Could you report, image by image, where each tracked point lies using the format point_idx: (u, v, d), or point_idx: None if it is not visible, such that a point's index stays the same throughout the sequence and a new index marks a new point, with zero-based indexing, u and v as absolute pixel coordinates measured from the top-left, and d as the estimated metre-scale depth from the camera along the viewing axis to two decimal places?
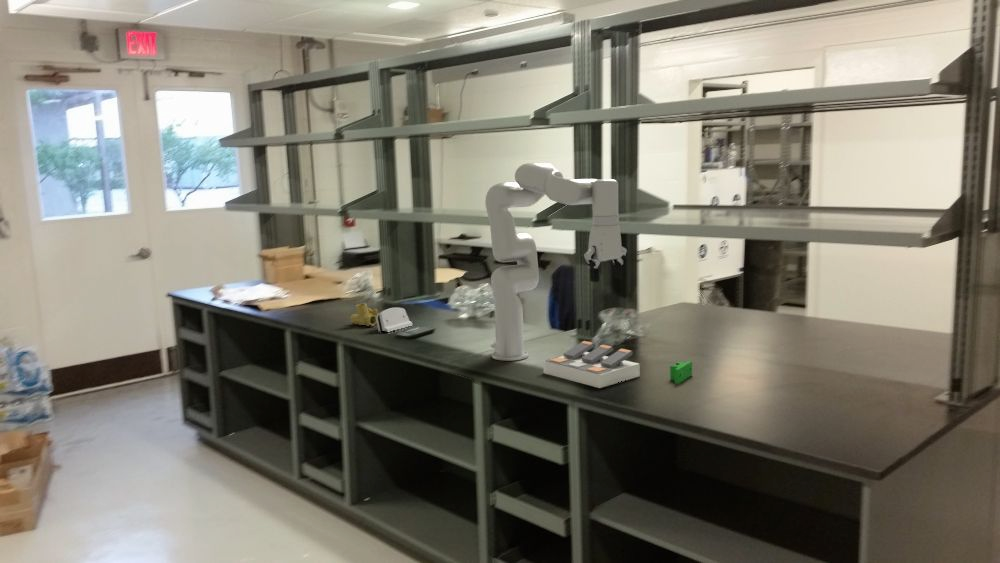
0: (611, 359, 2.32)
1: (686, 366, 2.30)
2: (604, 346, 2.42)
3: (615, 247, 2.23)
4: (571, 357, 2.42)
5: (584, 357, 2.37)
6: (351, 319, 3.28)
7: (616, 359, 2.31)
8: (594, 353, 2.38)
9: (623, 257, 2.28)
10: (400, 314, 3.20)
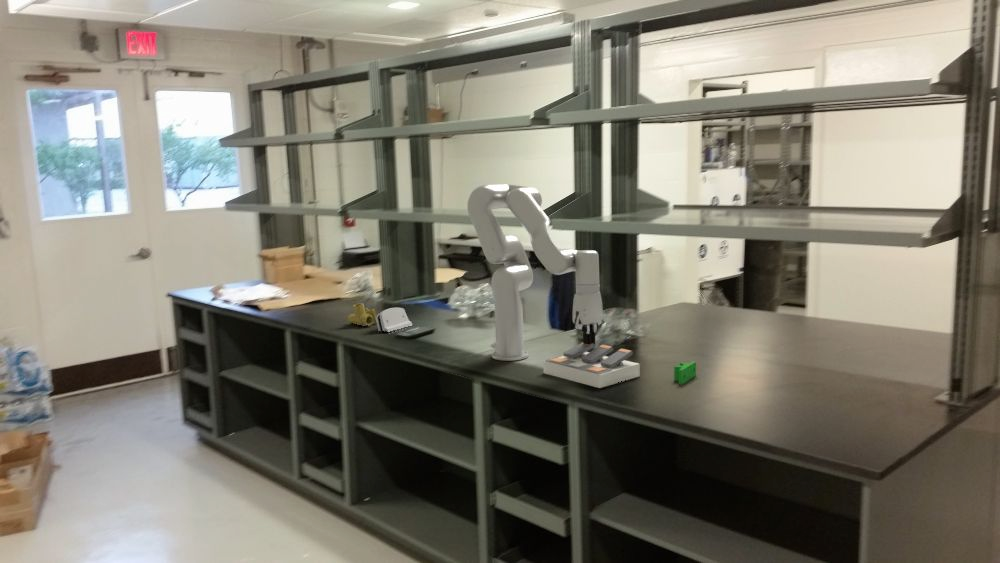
0: (611, 359, 2.32)
1: (690, 367, 2.30)
2: (604, 346, 2.42)
3: (597, 311, 2.45)
4: (571, 356, 2.42)
5: (584, 357, 2.37)
6: (349, 318, 3.29)
7: (616, 359, 2.31)
8: (594, 353, 2.38)
9: None
10: (400, 314, 3.20)
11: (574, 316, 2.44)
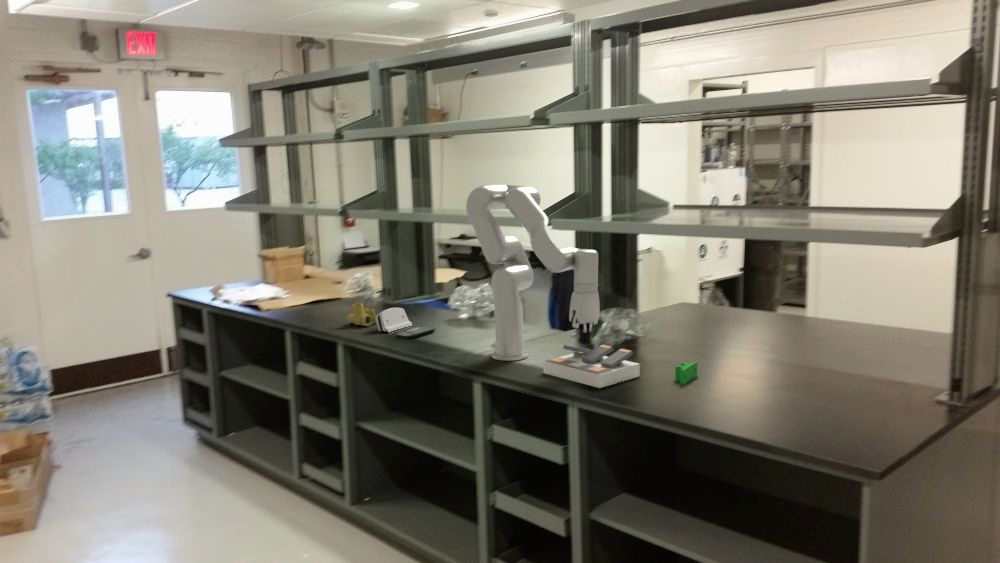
0: (611, 359, 2.32)
1: (691, 367, 2.29)
2: (604, 346, 2.42)
3: (594, 311, 2.45)
4: (570, 349, 2.41)
5: (584, 357, 2.37)
6: (348, 318, 3.29)
7: (616, 359, 2.31)
8: (594, 353, 2.38)
9: (592, 324, 2.48)
10: (400, 314, 3.20)
11: (571, 314, 2.44)
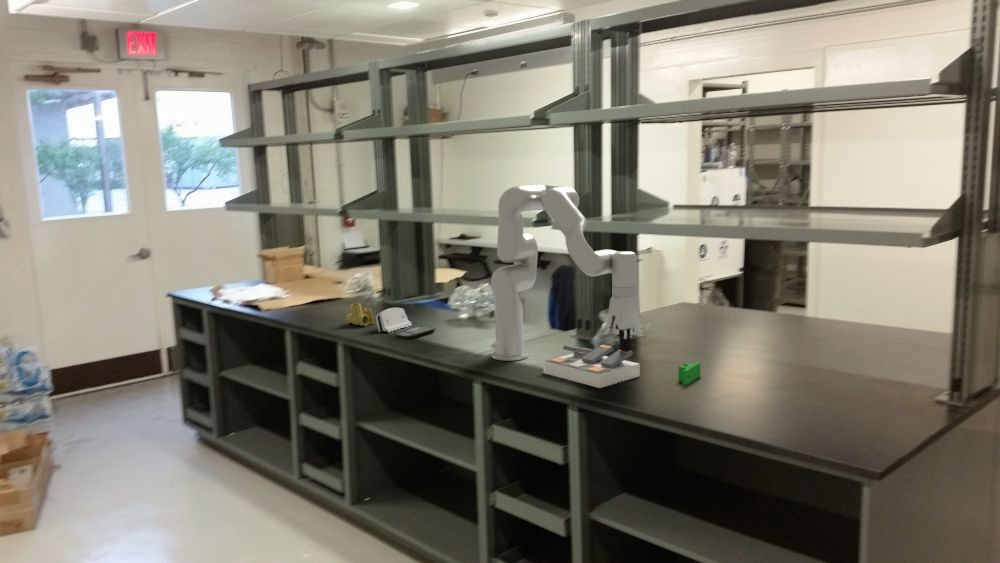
0: (611, 359, 2.32)
1: (694, 367, 2.29)
2: (604, 346, 2.42)
3: (634, 316, 2.33)
4: (570, 349, 2.41)
5: (584, 357, 2.37)
6: (346, 318, 3.30)
7: (616, 359, 2.31)
8: (594, 353, 2.38)
9: None
10: (399, 314, 3.19)
11: (610, 321, 2.32)
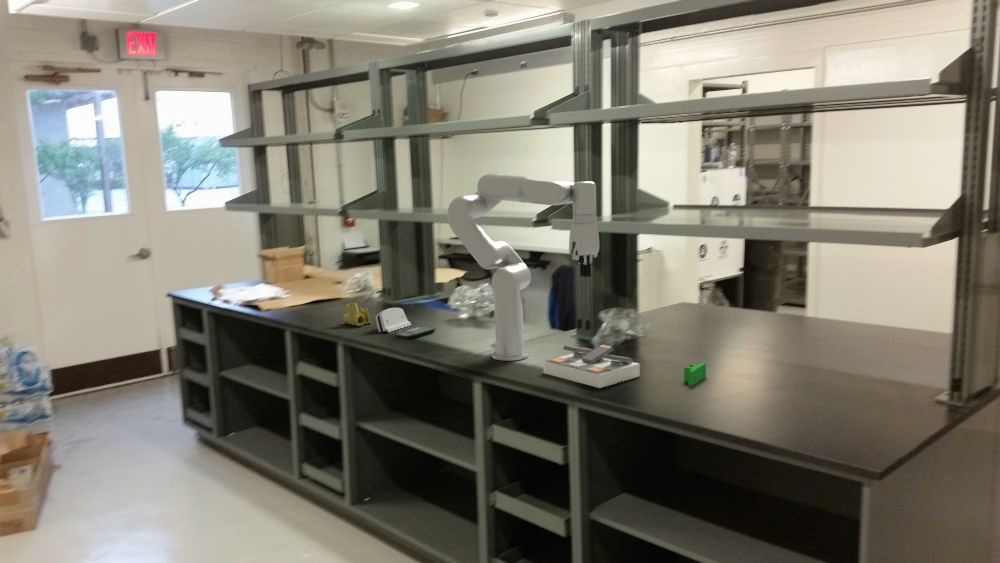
0: (612, 355, 2.32)
1: (700, 368, 2.28)
2: (604, 346, 2.42)
3: (593, 242, 2.46)
4: (570, 349, 2.41)
5: (584, 357, 2.37)
6: (344, 318, 3.31)
7: (617, 356, 2.31)
8: (594, 353, 2.38)
9: (592, 257, 2.48)
10: (399, 314, 3.19)
11: (570, 247, 2.45)
